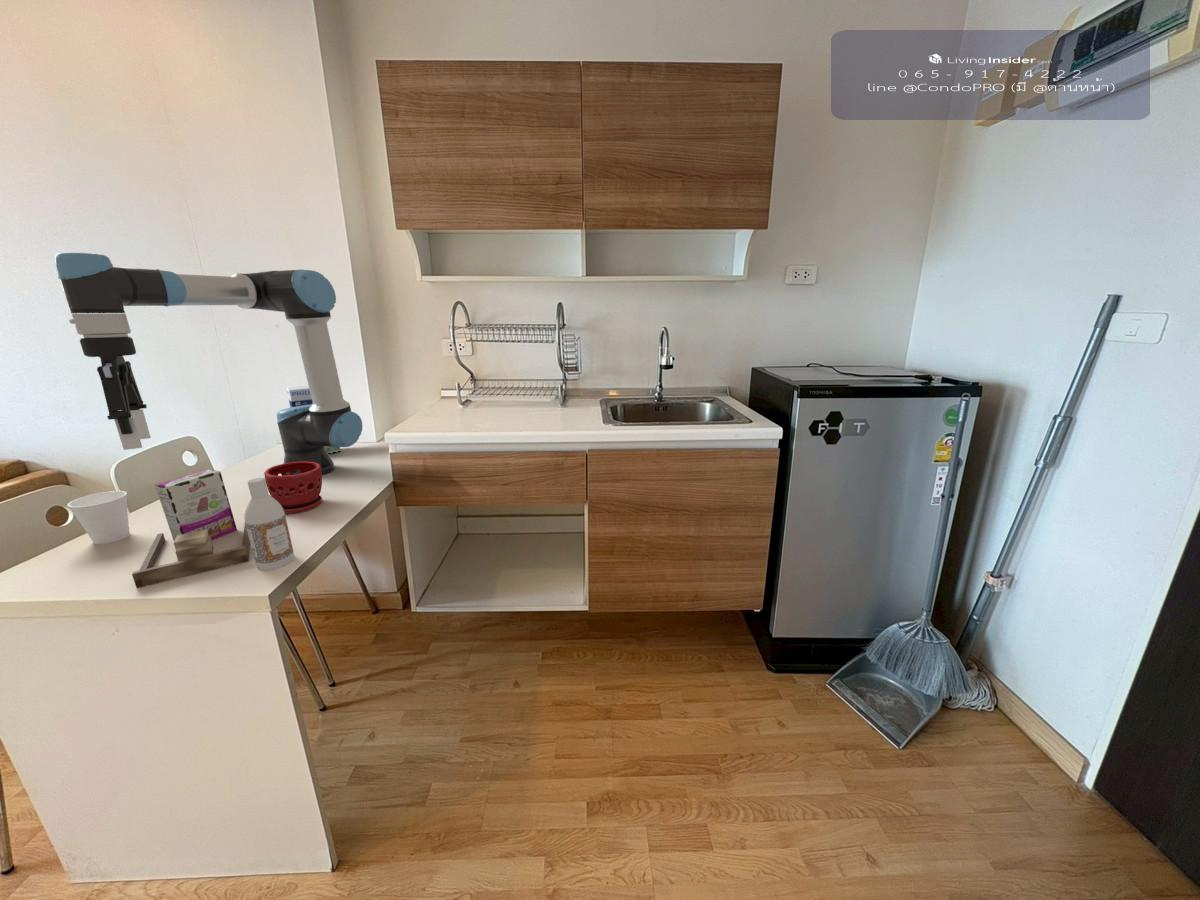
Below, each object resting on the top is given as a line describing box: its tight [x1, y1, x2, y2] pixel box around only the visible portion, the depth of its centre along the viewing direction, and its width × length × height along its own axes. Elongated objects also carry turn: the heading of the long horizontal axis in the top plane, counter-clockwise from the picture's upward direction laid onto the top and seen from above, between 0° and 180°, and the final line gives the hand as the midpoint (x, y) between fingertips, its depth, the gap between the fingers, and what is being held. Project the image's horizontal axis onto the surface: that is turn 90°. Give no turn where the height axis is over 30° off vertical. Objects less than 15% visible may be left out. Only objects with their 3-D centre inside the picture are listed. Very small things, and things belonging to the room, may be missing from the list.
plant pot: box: [263, 462, 323, 515], centre depth 129 cm, size 13×13×12 cm
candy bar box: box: [154, 468, 238, 542], centre depth 110 cm, size 11×5×16 cm, turn 159°
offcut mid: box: [175, 536, 214, 561], centre depth 100 cm, size 6×5×2 cm
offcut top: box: [173, 529, 209, 552], centre depth 100 cm, size 5×4×2 cm
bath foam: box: [244, 477, 296, 572], centre depth 98 cm, size 7×7×20 cm
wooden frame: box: [131, 523, 251, 589], centre depth 106 cm, size 18×24×4 cm
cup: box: [66, 490, 131, 545], centre depth 111 cm, size 10×10×11 cm
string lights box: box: [286, 385, 342, 454], centre depth 176 cm, size 13×8×26 cm, turn 130°
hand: (137, 443), depth 100 cm, fingers open, 9 cm apart
